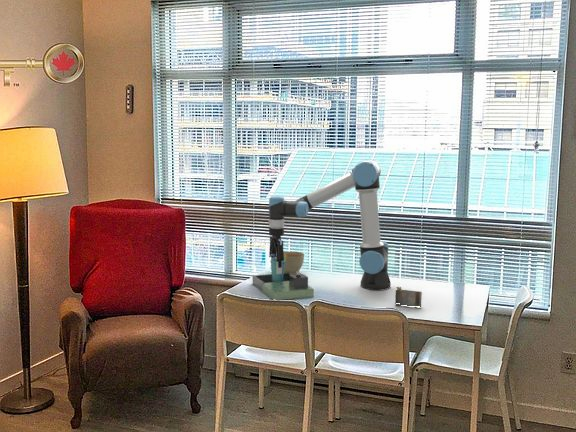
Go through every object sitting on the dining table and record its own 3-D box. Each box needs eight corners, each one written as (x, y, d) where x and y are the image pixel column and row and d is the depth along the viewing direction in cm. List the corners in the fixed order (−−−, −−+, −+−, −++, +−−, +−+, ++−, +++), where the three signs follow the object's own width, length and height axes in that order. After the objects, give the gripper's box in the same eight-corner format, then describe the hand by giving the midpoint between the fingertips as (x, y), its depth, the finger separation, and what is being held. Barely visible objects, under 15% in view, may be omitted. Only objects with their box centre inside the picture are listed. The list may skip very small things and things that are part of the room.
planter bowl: (307, 271, 360) (307, 252, 358) (299, 278, 344) (299, 258, 343) (280, 269, 365) (280, 250, 363) (270, 275, 349) (270, 255, 348)
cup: (275, 285, 319) (276, 255, 316) (262, 282, 323) (262, 253, 320) (290, 279, 331) (291, 250, 328) (277, 276, 335) (278, 248, 332)
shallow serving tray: (313, 296, 308) (313, 274, 306) (274, 300, 301) (274, 277, 299) (289, 280, 338) (289, 260, 337) (252, 283, 331) (252, 263, 330)
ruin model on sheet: (394, 307, 294) (395, 286, 292) (396, 305, 296) (397, 284, 295) (419, 310, 289) (420, 288, 288) (421, 308, 292) (421, 287, 291)
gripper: (262, 224, 331) (262, 268, 334) (276, 231, 312) (276, 277, 315) (276, 223, 334) (276, 267, 337) (290, 230, 315) (290, 275, 318)
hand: (276, 271), depth 326 cm, fingers closed on cup, 8 cm apart
